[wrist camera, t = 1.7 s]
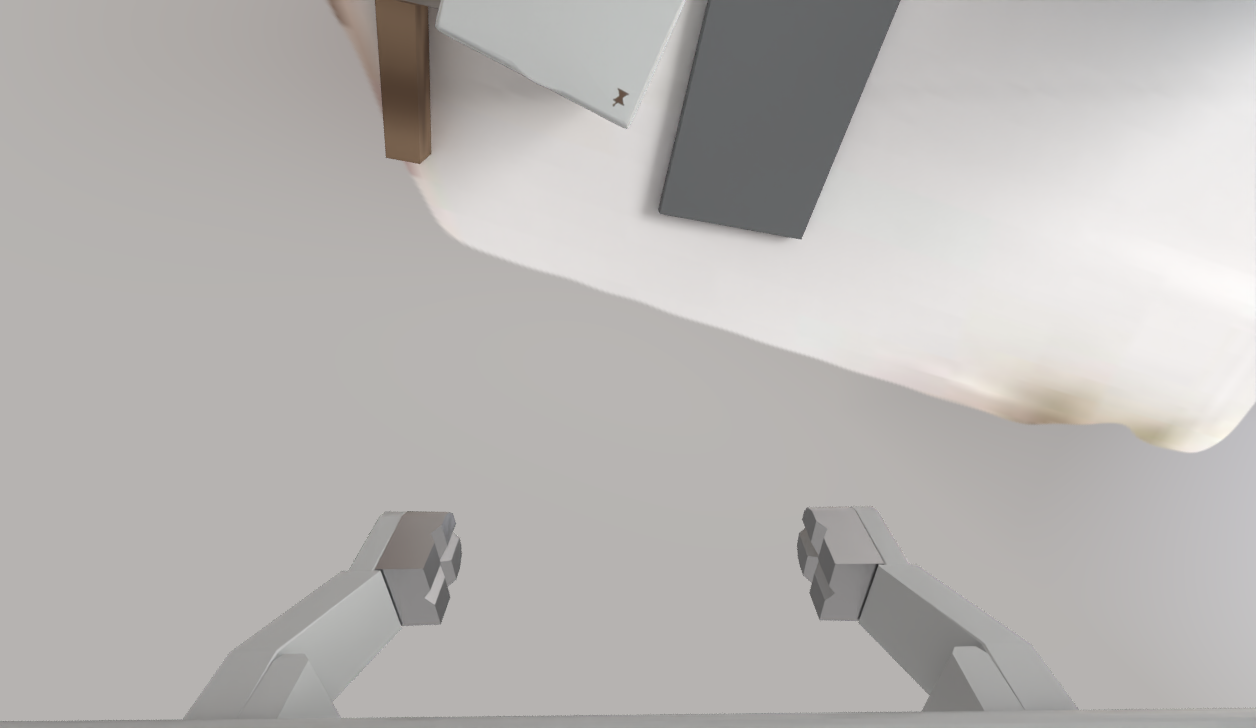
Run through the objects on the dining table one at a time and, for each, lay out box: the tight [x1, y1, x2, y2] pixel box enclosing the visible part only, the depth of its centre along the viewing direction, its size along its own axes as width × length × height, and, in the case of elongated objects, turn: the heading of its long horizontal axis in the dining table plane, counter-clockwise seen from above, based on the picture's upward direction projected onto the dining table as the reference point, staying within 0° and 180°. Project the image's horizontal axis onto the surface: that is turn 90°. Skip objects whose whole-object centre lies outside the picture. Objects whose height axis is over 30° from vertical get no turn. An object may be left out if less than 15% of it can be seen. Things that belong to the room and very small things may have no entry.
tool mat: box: [658, 0, 900, 239], centre depth 35 cm, size 20×12×1 cm, turn 169°
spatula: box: [375, 0, 441, 164], centre depth 31 cm, size 14×5×3 cm, turn 169°
